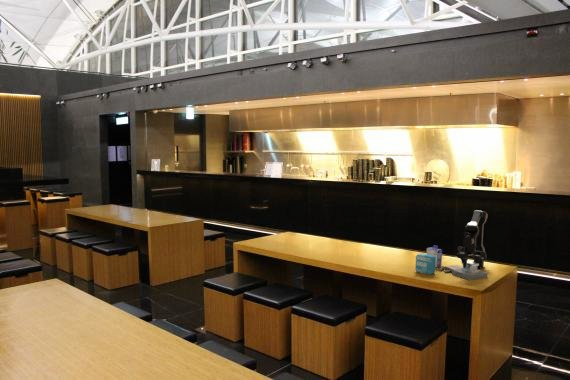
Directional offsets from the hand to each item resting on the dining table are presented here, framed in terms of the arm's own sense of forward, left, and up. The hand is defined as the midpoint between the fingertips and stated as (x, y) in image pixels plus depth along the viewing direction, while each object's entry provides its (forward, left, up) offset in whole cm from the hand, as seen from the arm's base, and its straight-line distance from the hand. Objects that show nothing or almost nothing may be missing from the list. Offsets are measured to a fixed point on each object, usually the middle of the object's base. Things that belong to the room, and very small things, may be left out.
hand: (469, 267), depth 316 cm
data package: (+22, -18, -6) cm, 29 cm away
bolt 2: (+8, -12, -6) cm, 15 cm away
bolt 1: (+8, -18, -6) cm, 20 cm away
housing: (0, 0, -3) cm, 3 cm away
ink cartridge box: (+4, -30, -6) cm, 30 cm away
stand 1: (-2, -14, -6) cm, 15 cm away
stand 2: (0, 0, -6) cm, 6 cm away
